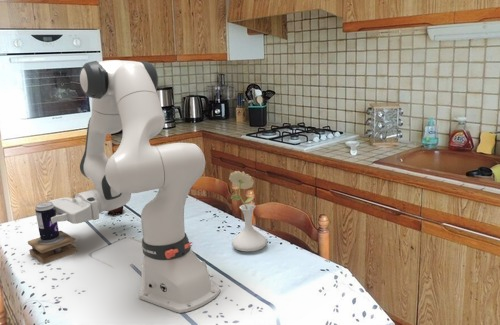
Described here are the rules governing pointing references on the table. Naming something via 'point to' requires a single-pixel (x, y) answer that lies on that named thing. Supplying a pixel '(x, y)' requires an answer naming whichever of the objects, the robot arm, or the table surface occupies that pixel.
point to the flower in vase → (246, 217)
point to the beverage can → (46, 221)
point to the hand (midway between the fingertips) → (44, 216)
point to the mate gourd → (116, 211)
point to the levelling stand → (52, 248)
